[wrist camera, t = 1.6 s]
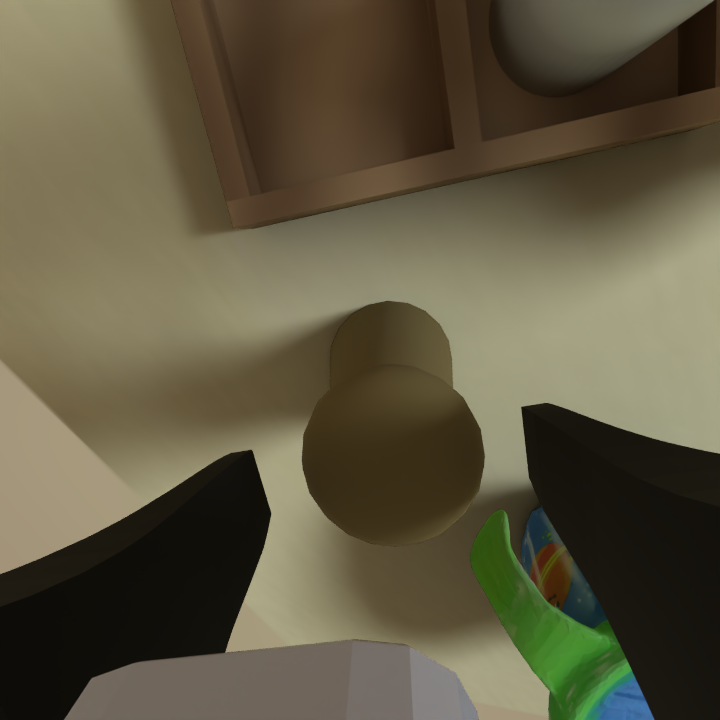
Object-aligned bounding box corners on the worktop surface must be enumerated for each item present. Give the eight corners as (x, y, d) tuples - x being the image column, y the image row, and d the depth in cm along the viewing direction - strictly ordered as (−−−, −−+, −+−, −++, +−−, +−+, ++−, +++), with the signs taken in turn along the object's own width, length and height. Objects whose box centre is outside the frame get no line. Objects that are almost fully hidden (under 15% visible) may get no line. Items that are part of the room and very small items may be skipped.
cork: (401, 274, 20) (414, 321, 10) (476, 371, 21) (562, 508, 11) (304, 351, 22) (225, 466, 11) (380, 439, 23) (374, 618, 12)
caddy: (692, -180, 15) (758, -269, 12) (691, 130, 18) (745, 112, 15) (187, -27, 17) (150, -74, 15) (253, 228, 20) (233, 228, 17)
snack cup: (771, 541, 23) (1053, 769, 13) (630, 661, 26) (777, 921, 16) (537, 387, 21) (663, 517, 12) (415, 533, 24) (433, 736, 14)
